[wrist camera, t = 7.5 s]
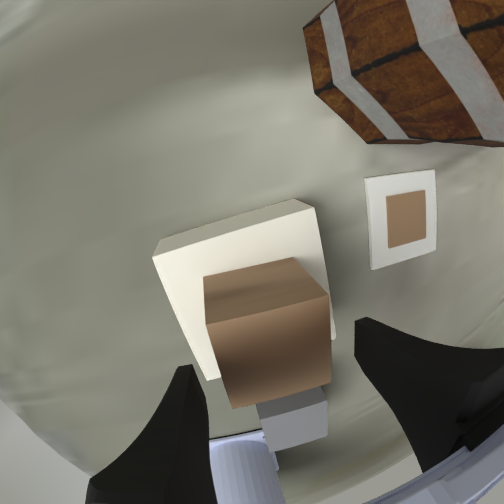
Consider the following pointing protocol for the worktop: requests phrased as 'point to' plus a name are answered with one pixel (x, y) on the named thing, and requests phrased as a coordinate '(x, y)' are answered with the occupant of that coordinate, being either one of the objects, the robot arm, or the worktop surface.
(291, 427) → the charcoal cube
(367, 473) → the worktop surface
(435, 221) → the card
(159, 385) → the worktop surface
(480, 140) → the mug
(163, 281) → the cream base block
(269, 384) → the walnut cube
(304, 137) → the worktop surface
